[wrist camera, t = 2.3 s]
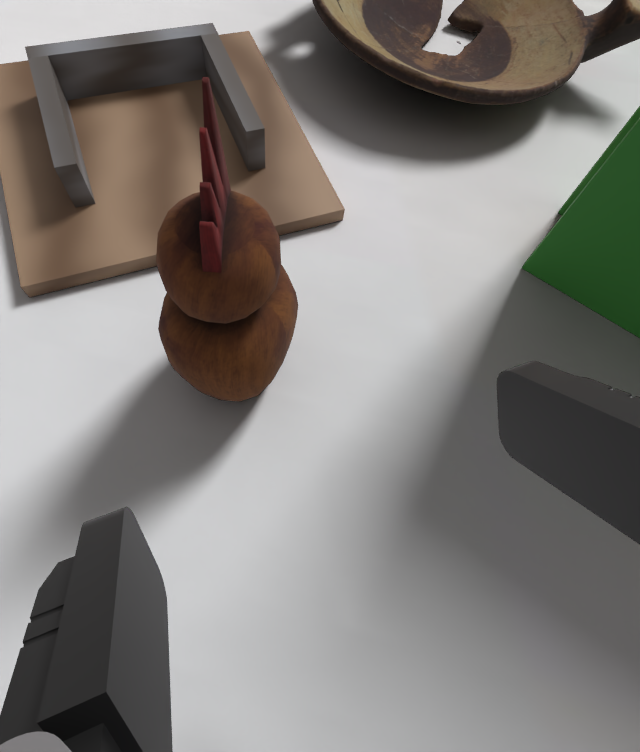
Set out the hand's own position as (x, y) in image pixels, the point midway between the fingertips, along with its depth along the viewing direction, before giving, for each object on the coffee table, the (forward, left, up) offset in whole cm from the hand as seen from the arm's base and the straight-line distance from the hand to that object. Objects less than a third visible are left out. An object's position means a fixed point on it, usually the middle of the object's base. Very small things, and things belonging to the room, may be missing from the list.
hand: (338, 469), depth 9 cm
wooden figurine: (0, +10, -15) cm, 18 cm away
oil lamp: (+27, +31, -15) cm, 44 cm away
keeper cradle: (0, +28, -14) cm, 31 cm away
